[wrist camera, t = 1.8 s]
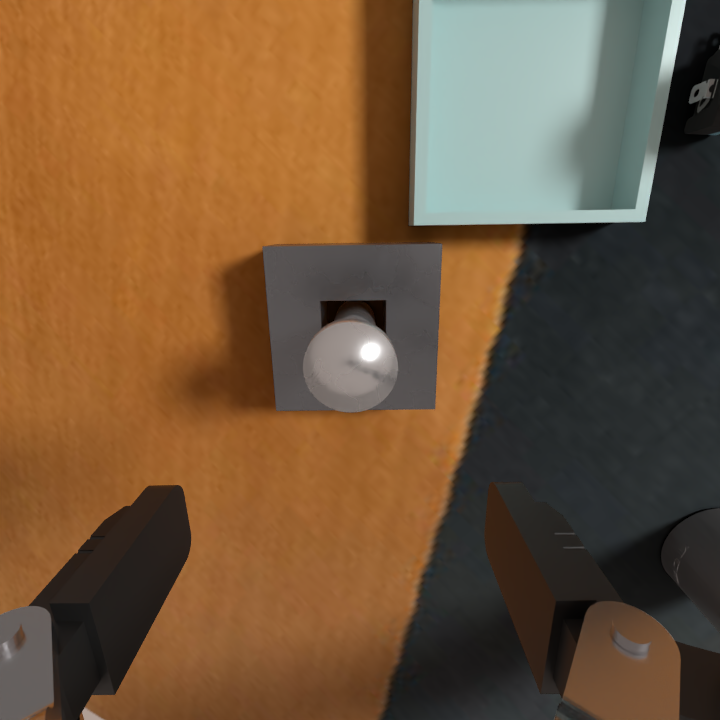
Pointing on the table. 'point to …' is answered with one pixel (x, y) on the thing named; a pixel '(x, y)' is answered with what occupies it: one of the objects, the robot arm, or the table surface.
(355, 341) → the steel pin
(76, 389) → the table surface
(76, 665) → the robot arm
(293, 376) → the hitch block
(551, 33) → the tray
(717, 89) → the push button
